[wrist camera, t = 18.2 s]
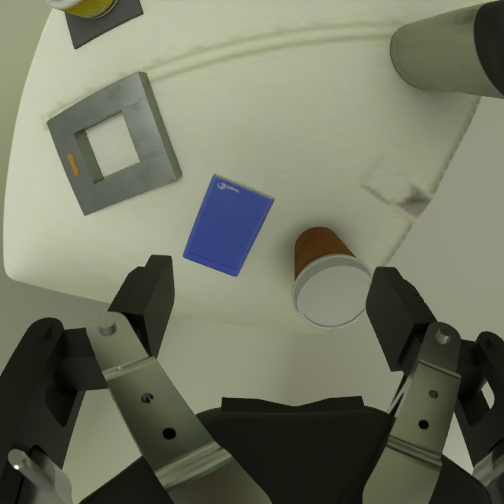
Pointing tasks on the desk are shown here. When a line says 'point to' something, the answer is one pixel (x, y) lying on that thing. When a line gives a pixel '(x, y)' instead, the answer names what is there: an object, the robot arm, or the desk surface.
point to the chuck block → (143, 136)
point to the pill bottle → (84, 7)
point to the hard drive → (227, 225)
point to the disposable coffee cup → (328, 281)
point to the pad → (101, 21)
